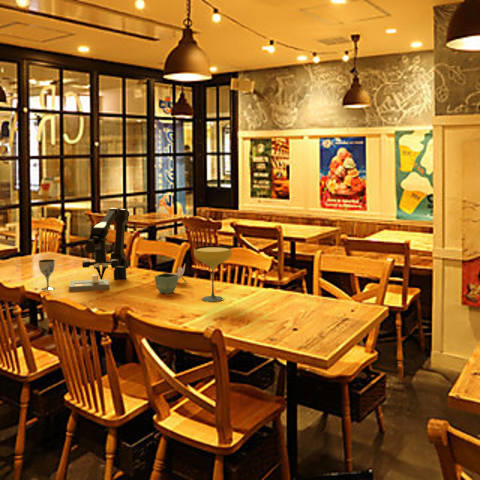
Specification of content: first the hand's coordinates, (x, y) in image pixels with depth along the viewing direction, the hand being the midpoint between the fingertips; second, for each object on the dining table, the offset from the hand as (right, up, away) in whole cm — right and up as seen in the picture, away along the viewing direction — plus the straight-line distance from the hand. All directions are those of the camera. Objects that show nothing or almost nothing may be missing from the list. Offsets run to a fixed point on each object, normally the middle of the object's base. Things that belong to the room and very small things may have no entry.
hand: (101, 279), depth 297 cm
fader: (-3, -3, 0) cm, 4 cm away
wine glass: (-27, -5, -4) cm, 28 cm away
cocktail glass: (+60, -8, -24) cm, 66 cm away
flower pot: (+36, -6, -11) cm, 38 cm away
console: (-6, -4, -1) cm, 7 cm away
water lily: (+39, -3, +11) cm, 41 cm away
